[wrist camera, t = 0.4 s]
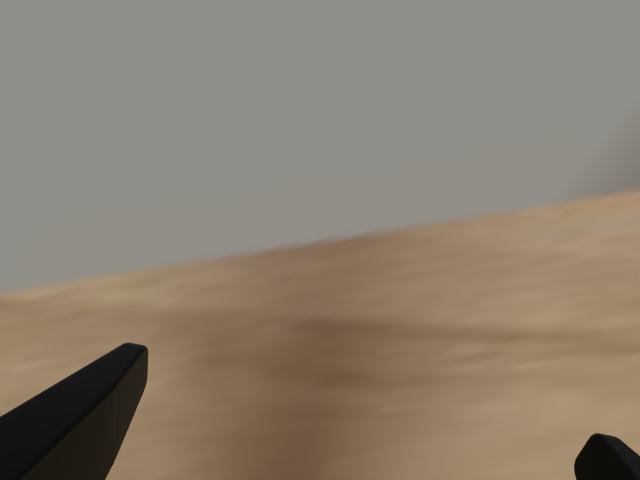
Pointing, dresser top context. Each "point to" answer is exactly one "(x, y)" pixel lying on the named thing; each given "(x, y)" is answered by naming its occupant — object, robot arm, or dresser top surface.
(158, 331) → the dresser top surface
